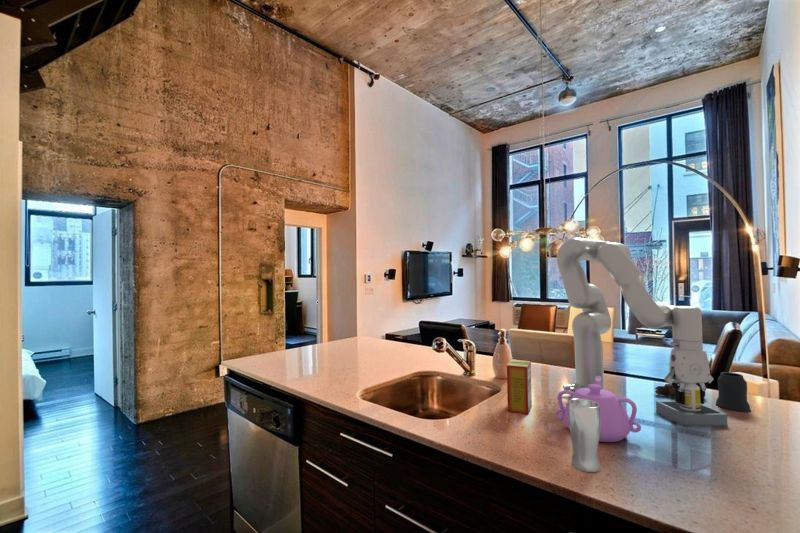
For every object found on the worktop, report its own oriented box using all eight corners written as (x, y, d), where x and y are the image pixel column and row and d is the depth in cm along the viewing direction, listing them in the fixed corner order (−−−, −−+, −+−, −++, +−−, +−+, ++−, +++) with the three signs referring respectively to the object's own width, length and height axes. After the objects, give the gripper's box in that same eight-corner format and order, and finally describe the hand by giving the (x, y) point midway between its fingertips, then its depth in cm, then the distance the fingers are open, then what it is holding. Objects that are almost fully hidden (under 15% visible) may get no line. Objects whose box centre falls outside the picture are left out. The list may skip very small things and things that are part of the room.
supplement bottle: (696, 406, 120) (695, 375, 121) (704, 412, 115) (702, 380, 116) (676, 405, 122) (675, 374, 122) (683, 410, 117) (681, 379, 117)
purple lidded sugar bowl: (639, 425, 114) (638, 379, 115) (642, 454, 96) (641, 399, 96) (561, 412, 125) (560, 370, 126) (550, 436, 107) (549, 387, 107)
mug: (755, 414, 122) (753, 379, 122) (718, 409, 126) (717, 375, 127) (744, 403, 132) (743, 370, 133) (710, 399, 137) (710, 368, 137)
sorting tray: (686, 427, 112) (686, 415, 112) (656, 411, 125) (655, 401, 125) (727, 426, 113) (727, 414, 113) (693, 411, 125) (692, 400, 125)
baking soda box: (528, 415, 123) (527, 366, 124) (507, 412, 126) (506, 364, 127) (531, 406, 132) (530, 360, 132) (512, 403, 135) (511, 358, 135)
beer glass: (564, 459, 93) (562, 398, 94) (590, 458, 94) (589, 397, 94) (579, 474, 86) (578, 408, 87) (608, 472, 87) (606, 407, 87)
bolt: (656, 399, 142) (700, 400, 140) (661, 396, 138) (707, 397, 136) (651, 384, 145) (695, 384, 143) (656, 380, 141) (701, 381, 139)
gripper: (670, 348, 115) (672, 407, 115) (724, 346, 116) (726, 406, 115) (652, 343, 123) (654, 399, 122) (703, 342, 123) (705, 398, 123)
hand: (689, 402), depth 119 cm, fingers closed on supplement bottle, 5 cm apart
